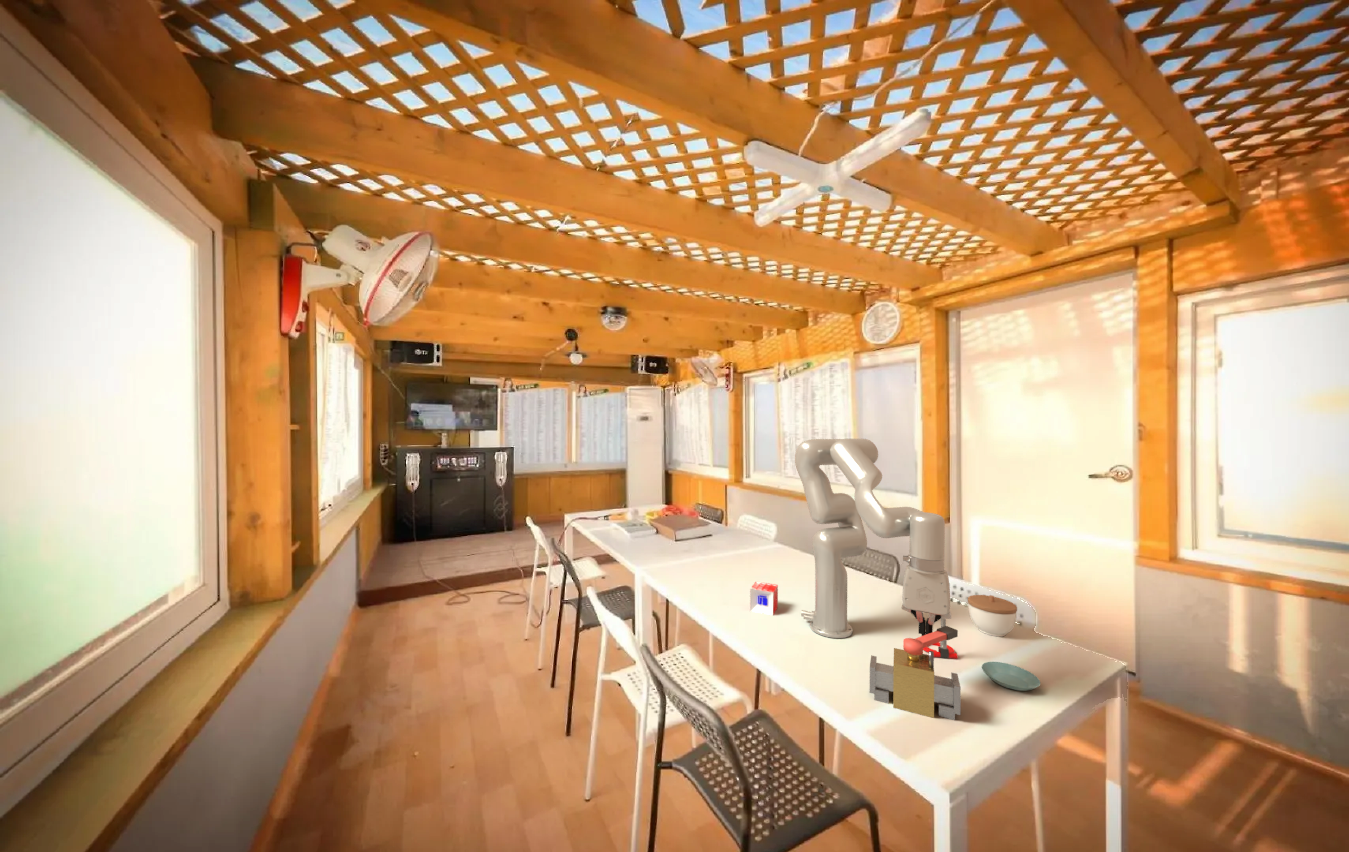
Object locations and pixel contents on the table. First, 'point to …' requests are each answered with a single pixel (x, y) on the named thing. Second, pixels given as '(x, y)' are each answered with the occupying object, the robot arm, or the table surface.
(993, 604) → the lidded bowl
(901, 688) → the valve body
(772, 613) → the white and red cube
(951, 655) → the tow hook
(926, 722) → the table surface
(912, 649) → the lever
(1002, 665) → the saucer
